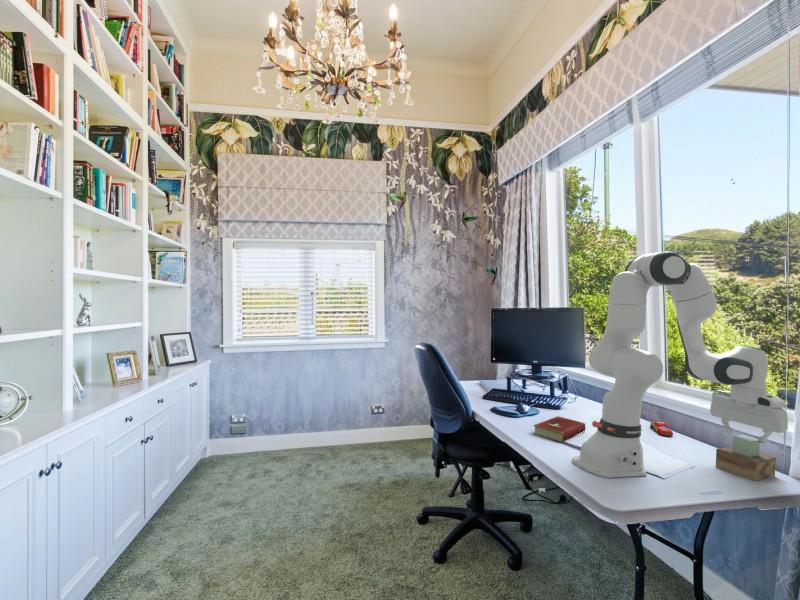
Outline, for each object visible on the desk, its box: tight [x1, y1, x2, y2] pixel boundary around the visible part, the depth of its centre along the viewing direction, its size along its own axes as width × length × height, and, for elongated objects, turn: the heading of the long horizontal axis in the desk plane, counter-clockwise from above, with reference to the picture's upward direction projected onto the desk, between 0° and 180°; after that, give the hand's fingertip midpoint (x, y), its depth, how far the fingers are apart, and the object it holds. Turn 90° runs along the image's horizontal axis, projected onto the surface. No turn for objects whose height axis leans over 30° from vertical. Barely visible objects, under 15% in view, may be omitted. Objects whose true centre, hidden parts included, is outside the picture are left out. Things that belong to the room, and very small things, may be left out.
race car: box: [649, 420, 674, 437], centre depth 171 cm, size 13×5×4 cm, turn 165°
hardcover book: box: [533, 415, 586, 443], centre depth 164 cm, size 12×21×4 cm, turn 133°
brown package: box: [715, 445, 777, 482], centre depth 132 cm, size 11×11×6 cm
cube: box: [732, 434, 761, 457], centre depth 132 cm, size 5×5×5 cm
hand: (744, 437), depth 132 cm, fingers open, 8 cm apart
